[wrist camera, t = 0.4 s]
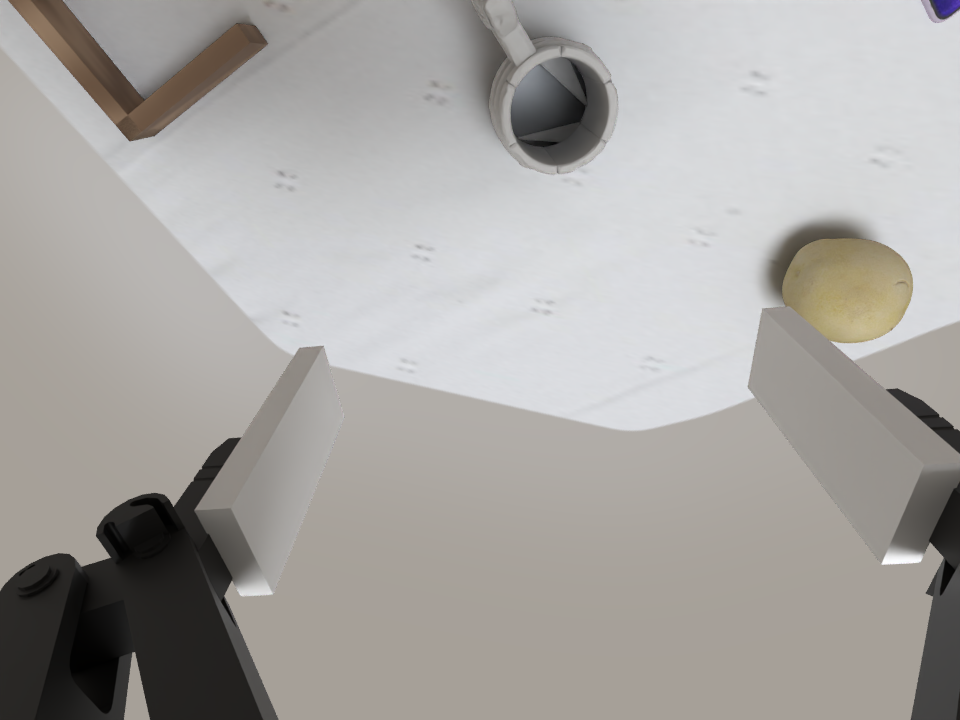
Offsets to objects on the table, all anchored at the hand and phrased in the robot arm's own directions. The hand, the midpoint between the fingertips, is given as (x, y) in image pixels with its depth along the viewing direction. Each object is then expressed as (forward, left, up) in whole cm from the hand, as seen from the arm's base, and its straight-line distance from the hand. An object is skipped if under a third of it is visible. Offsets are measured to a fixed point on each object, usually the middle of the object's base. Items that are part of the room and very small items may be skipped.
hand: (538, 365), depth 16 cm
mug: (-7, +1, -27) cm, 28 cm away
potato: (+7, +25, -27) cm, 38 cm away
